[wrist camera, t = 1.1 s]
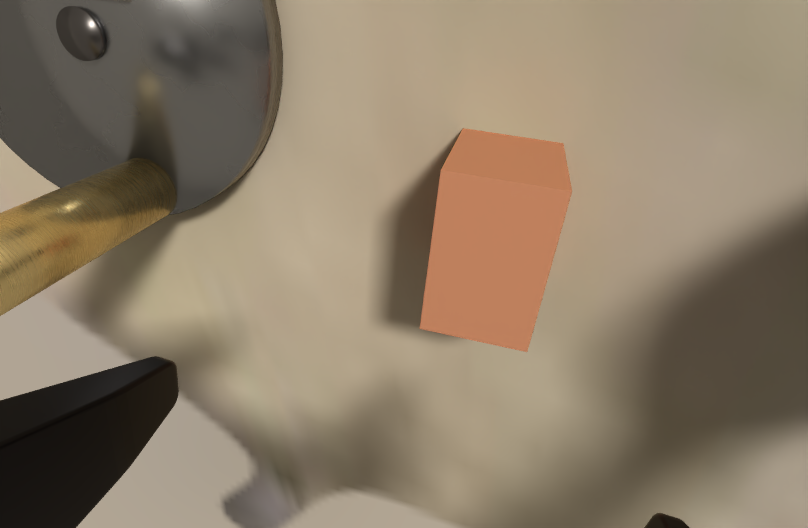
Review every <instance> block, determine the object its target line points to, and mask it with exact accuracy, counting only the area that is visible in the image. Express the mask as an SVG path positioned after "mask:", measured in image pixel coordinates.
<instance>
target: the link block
mask: <svg viewBox="0 0 808 528" xmlns="http://www.w3.org/2000/svg"><path fill="white" fill-rule="evenodd" d="M571 194H572V188H571V183H570V177H569V172H568V167H567V161H566V156H565V150H564V145H563V143H557V142H551V141H544V140H537V139H531V138H524V137H517V136H511V135H504V134H497V133H491V132H484V131H477V130H471V129H464V128H463V129H462V131H461V133H460V135H459V137H458V139H457V141H456V142H455V144H454V146H453V148H452V150H451V152H450V154H449V156H448V157H447V159H446V161H445V163H444V165H443V167H442V169H441V172H440V180H439V187H438V195H437V202H436V210H435V217H434V225H433V232H432V240H431V247H430V255H429V262H428V270H427V277H426V285H425V292H424V300H423V307H422V315H421V322H420V329H424V330H428V331H433V332H437V333H442V334H447V335H451V336H456V337H460V338H465V339H470V340H474V341H479V342H483V343H488V344H493V345H497V346H502V347H506V348H511V349H516V350H520V351H525V352H527V351H528V347H529V344H530V340H531V337H532V333H533V329H534V326H535V322H536V319H537V315H538V312H539V308H540V304H541V301H542V297H543V294H544V290H545V286H546V283H547V279H548V276H549V272H550V269H551V265H552V261H553V258H554V254H555V251H556V247H557V244H558V240H559V236H560V233H561V229H562V226H563V222H564V219H565V215H566V211H567V208H568V204H569V201H570V197H571Z"/></svg>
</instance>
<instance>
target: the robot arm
mask: <svg viewBox="0 0 808 528" xmlns="http://www.w3.org/2000/svg"><path fill="white" fill-rule="evenodd" d="M178 392H179V390H178V378H177V367H176V364H175V363H174V362H173V361H170V360H167V359H164V358H161V357H156V356H155V357H150V358H146V359H143V360H139V361H136V362H132V363H129V364H126V365H122V366H119V367H115V368H112V369H108V370H105V371H101V372H98V373H94V374H91V375H87V376H84V377H81V378H77V379H74V380H70V381H67V382H63V383H60V384H56V385H53V386H49V387H46V388H42V389H39V390H35V391H32V392H29V393H25V394H22V395H18V396H14V397H11V398H8V399H4V400H1V401H0V528H76V527H77V526H78V525H79V524H80V522H81V521H82V520H83V519H84V518H85V517H86V516H87V515H88V513H89V512H90V511H91V510H92V509H93V508H94V507H95V505H97V503H98V502H99V501H100V500H101V499H102V498H103V497H104V495H105V494H106V493H107V492H108V491H109V490H110V489H111V488H112V487H113V485H114V484H115V483H116V482H117V481H118V480H119V479H120V478H121V476H122V475H123V474H124V473H125V472H126V470H127V469H128V468H129V467H130V466H131V464H132V463H133V462H134V460H135V459H136V458H137V456H138V455H139V454H140V452H141V451H142V449H143V448H144V447H145V445H146V444H147V443H148V441H149V440H150V438H151V437H152V436H153V434H154V433H155V431H156V430H157V429H158V427H159V426H160V425H161V423H162V422H163V420H164V419H165V418H166V416H167V415H168V413H169V412H170V411H171V409H172V408H173V406H174V405H175V403H176V401H177V398H178ZM644 528H689V527H688V526H687V525H686V524H685V523H684V522H683V521H682V520H680V519H678V518H675V517H672V516H669V515H666V514H662V513H657V514H655V515H654V516H653V517H652V518H651V519H650V521H649V522H648V523H647V525H646V526H645V527H644Z"/></svg>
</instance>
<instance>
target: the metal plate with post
mask: <svg viewBox="0 0 808 528" xmlns="http://www.w3.org/2000/svg"><path fill="white" fill-rule="evenodd" d="M282 67H283V51H282V40H281V28H280V22H279V17H278V12H277V7H276V2H275V0H0V138H1V139H2V140H3V141H4V142H5V143H6V145H7V146H8V147H9V148H10V149H11V150H12V151H14V152H15V153H16V154H17V155H18V156H19V157H20V158H21V159H22V160H23V161H25V162H26V163H27V164H28V165H29V166H30V167H32V168H33V169H34V170H36V171H37V172H38V173H39V174H41V175H42V176H43V177H45V178H46V179H47V180H49V181H51V182H52V183H54V184H55V185H57V186H58V187H60V189H58V190H55V191H53V192H50V193H48V194H45V195H43V196H41V197H38V198H36V199H33V200H31V201H28V202H26V203H24V204H21V205H19V206H16V207H14V208H11V209H9V210H6V211H4V212H2V213H0V316H1V315H3V314H4V313H6V312H8V311H9V310H11V309H13V308H14V307H16V306H17V305H19V304H21V303H23V302H24V301H26V300H28V299H29V298H31V297H33V296H34V295H36V294H38V293H39V292H41V291H43V290H44V289H46V288H47V287H49V286H51V285H52V284H54V283H56V282H57V281H59V280H61V279H62V278H64V277H66V276H67V275H69V274H71V273H72V272H74V271H76V270H77V269H79V268H81V267H82V266H84V265H86V264H87V263H89V262H91V261H92V260H94V259H96V258H97V257H99V256H101V255H102V254H104V253H106V252H107V251H109V250H111V249H112V248H114V247H115V246H117V245H119V244H120V243H122V242H124V241H125V240H127V239H129V238H130V237H132V236H134V235H135V234H137V233H139V232H140V231H142V230H144V229H145V228H147V227H149V226H150V225H152V224H154V223H155V222H157V221H159V220H160V219H162V218H164V217H165V216H167V215H170V214H176V213H180V212H183V211H186V210H189V209H192V208H195V207H197V206H199V205H201V204H203V203H204V202H206V201H208V200H210V199H212V198H213V197H215V196H216V195H218V194H220V193H221V192H223V191H224V190H226V189H227V188H228V187H230V186H231V185H232V184H234V183H235V182H236V181H237V180H239V179H240V178H241V177H242V176H243V175H244V174H245V172H246V171H247V170H248V169H249V168H250V167H251V166H252V165H253V163H254V162H255V160H256V159H257V157H258V156H259V154H260V152H261V151H262V149H263V148H264V146H265V143H266V141H267V139H268V137H269V134H270V132H271V130H272V127H273V124H274V120H275V117H276V113H277V110H278V106H279V99H280V93H281V86H282Z"/></svg>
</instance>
